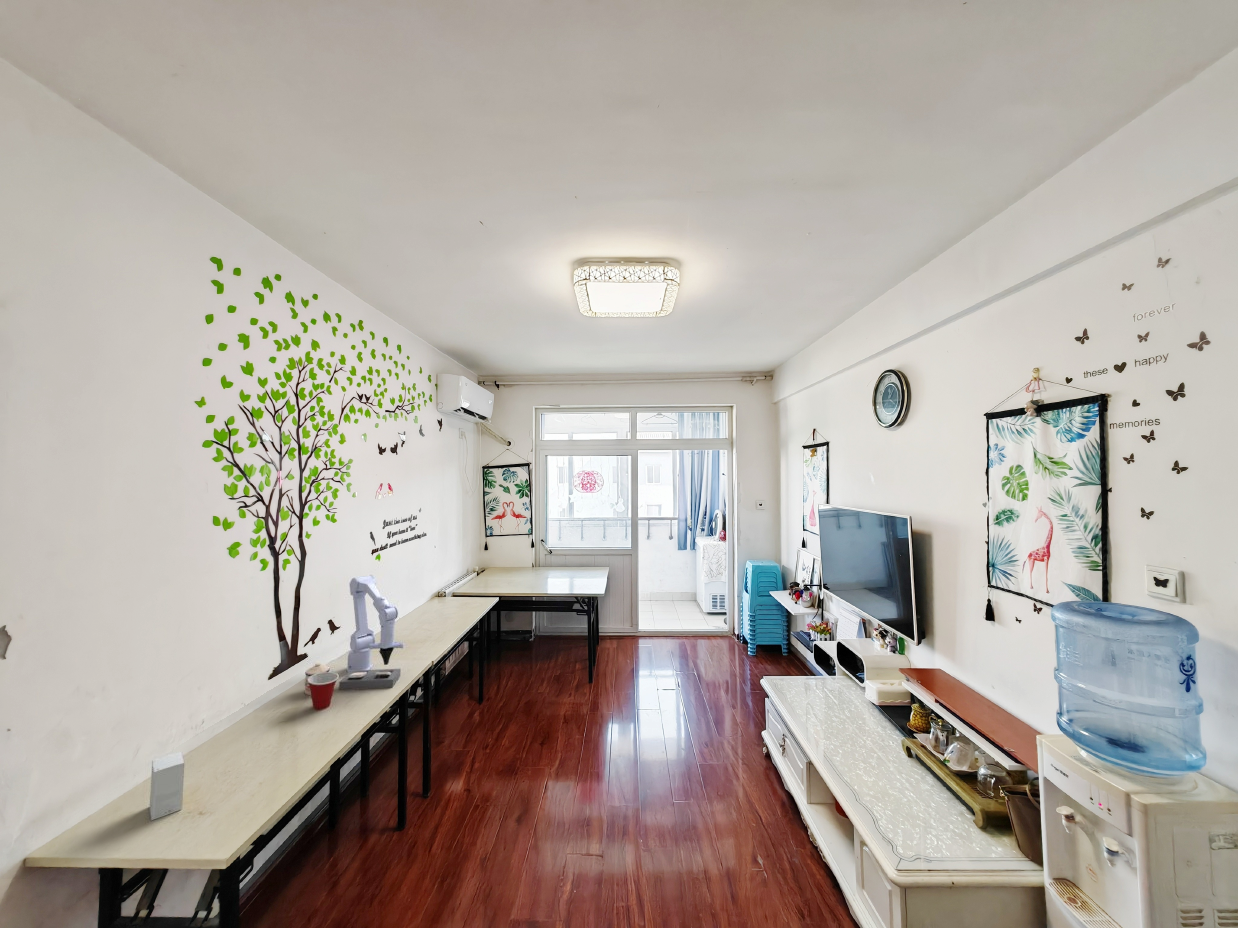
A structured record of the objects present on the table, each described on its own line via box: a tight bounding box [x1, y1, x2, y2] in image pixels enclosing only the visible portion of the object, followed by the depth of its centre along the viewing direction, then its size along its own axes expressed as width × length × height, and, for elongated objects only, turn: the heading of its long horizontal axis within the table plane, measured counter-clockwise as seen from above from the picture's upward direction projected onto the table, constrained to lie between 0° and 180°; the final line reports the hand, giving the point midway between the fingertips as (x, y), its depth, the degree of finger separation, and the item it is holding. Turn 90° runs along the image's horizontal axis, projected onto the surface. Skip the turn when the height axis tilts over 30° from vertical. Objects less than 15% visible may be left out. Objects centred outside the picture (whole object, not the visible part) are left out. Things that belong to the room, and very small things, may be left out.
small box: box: [149, 751, 185, 821], centre depth 134 cm, size 8×6×13 cm
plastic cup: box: [308, 671, 340, 711], centre depth 193 cm, size 11×11×12 cm
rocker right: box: [376, 672, 392, 676], centre depth 216 cm, size 5×8×1 cm, turn 10°
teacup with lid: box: [304, 662, 331, 696], centre depth 207 cm, size 12×9×12 cm
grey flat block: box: [338, 668, 402, 691], centre depth 215 cm, size 22×12×4 cm, turn 100°
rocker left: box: [349, 672, 367, 678], centre depth 215 cm, size 5×8×1 cm, turn 10°
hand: (386, 663), depth 219 cm, fingers closed
